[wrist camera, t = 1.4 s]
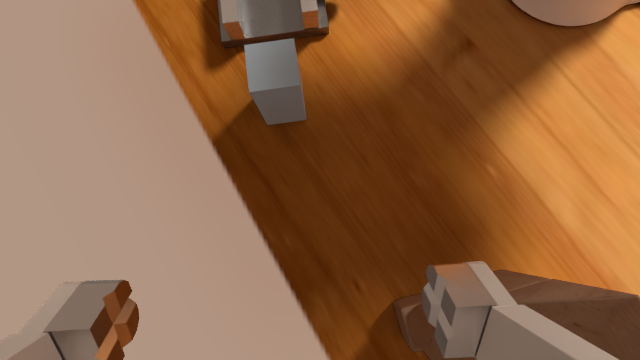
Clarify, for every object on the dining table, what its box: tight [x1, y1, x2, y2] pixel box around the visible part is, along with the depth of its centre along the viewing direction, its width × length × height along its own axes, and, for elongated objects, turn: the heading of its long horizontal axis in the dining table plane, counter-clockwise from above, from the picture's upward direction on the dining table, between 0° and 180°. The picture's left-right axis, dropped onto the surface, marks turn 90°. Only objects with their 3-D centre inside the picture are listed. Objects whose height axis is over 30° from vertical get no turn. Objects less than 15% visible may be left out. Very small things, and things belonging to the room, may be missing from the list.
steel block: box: [244, 38, 307, 125], centre depth 31 cm, size 4×4×8 cm
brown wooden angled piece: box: [393, 270, 640, 360], centre depth 22 cm, size 4×11×18 cm, turn 106°
